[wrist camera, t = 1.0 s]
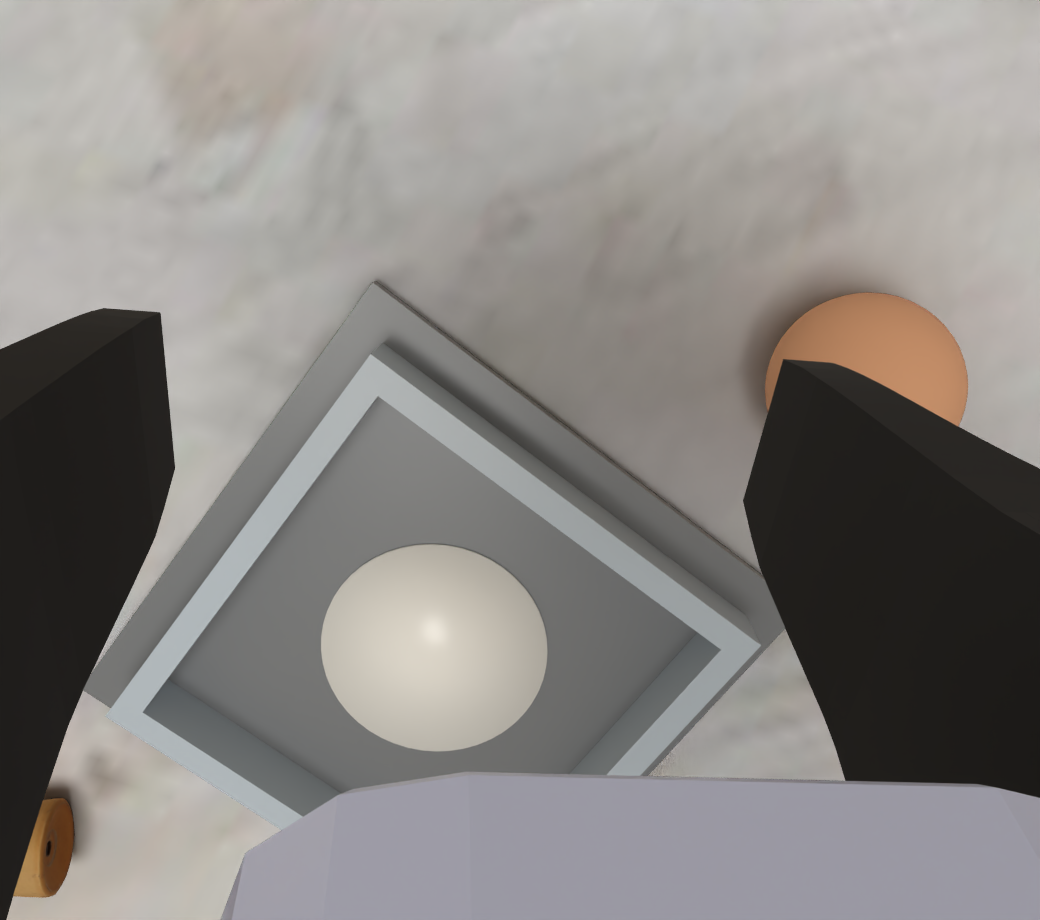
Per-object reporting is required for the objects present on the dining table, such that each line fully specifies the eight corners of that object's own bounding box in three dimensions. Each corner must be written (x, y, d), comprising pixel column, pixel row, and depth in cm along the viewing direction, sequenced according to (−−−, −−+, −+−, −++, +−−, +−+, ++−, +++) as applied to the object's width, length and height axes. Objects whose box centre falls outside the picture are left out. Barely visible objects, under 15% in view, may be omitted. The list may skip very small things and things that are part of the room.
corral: (798, 602, 30) (821, 638, 27) (485, 939, 33) (481, 997, 31) (375, 280, 27) (359, 289, 25) (87, 680, 31) (49, 722, 28)
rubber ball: (959, 356, 27) (1049, 391, 23) (839, 488, 29) (900, 548, 24) (829, 247, 27) (893, 259, 22) (712, 386, 28) (748, 427, 23)
